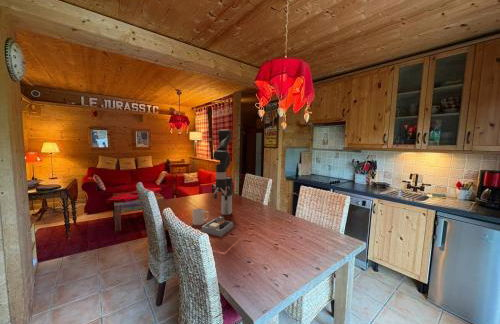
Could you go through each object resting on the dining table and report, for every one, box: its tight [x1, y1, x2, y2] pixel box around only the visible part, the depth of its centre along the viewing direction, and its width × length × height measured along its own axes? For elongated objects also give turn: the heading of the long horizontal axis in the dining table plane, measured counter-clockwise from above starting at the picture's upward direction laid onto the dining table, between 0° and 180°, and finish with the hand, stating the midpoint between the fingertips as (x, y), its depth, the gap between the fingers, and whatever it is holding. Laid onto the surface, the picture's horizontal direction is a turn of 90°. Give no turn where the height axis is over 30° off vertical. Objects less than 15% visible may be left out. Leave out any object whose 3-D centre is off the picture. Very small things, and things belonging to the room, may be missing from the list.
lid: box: [209, 223, 220, 227], centre depth 144 cm, size 5×5×1 cm
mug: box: [192, 208, 209, 226], centre depth 161 cm, size 12×9×11 cm
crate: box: [201, 218, 234, 237], centre depth 149 cm, size 17×16×5 cm
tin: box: [216, 215, 225, 229], centre depth 152 cm, size 5×5×8 cm
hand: (220, 199), depth 152 cm, fingers open, 8 cm apart
